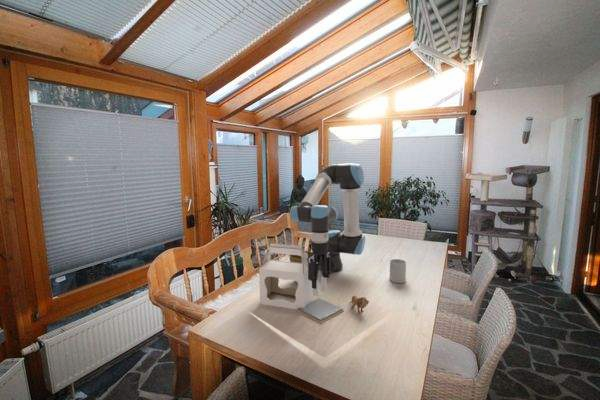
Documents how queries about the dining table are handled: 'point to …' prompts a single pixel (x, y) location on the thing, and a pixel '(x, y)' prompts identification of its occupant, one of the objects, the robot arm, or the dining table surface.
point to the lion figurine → (359, 302)
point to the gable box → (285, 277)
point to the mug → (397, 271)
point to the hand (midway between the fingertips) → (319, 293)
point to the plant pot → (299, 258)
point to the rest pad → (320, 310)
